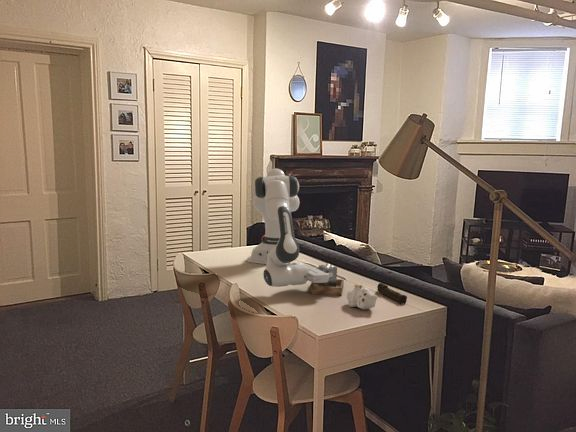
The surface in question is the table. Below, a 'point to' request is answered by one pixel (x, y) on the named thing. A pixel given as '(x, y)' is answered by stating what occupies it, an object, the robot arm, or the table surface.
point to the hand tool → (391, 293)
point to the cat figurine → (361, 298)
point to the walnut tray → (328, 288)
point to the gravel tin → (331, 280)
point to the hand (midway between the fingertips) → (326, 271)
